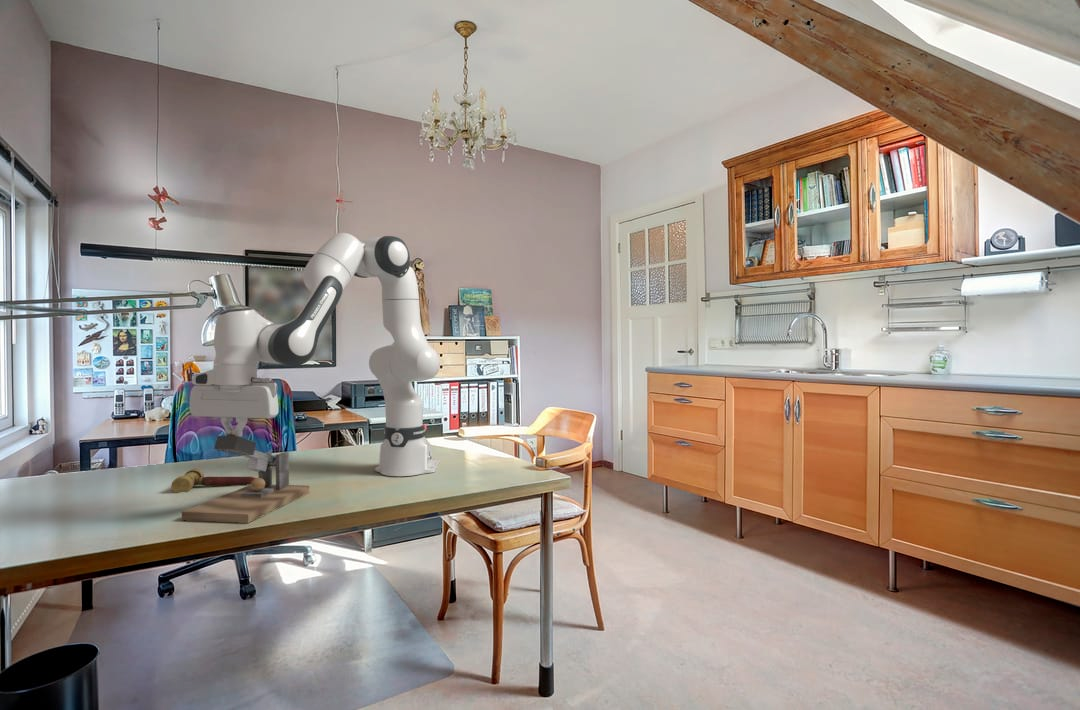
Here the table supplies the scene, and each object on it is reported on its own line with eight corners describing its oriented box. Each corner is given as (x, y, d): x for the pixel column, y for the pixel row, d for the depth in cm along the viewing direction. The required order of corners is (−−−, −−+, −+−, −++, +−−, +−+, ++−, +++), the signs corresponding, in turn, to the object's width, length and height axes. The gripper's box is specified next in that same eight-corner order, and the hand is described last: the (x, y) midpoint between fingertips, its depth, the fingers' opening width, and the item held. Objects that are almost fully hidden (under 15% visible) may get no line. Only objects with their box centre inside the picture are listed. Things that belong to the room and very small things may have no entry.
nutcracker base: (253, 491, 141) (252, 450, 141) (309, 493, 139) (308, 451, 139) (181, 520, 117) (181, 471, 117) (248, 523, 115) (247, 473, 115)
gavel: (267, 469, 154) (258, 477, 145) (266, 484, 154) (257, 494, 145) (186, 468, 149) (171, 477, 139) (185, 484, 149) (170, 494, 139)
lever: (264, 474, 137) (269, 453, 139) (282, 475, 137) (287, 453, 139) (210, 460, 118) (217, 435, 121) (231, 460, 118) (237, 436, 120)
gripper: (285, 377, 125) (283, 436, 124) (205, 376, 127) (204, 433, 127) (268, 378, 118) (266, 440, 118) (185, 376, 121) (183, 437, 121)
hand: (233, 436), depth 123 cm, fingers closed, pressing on lever
